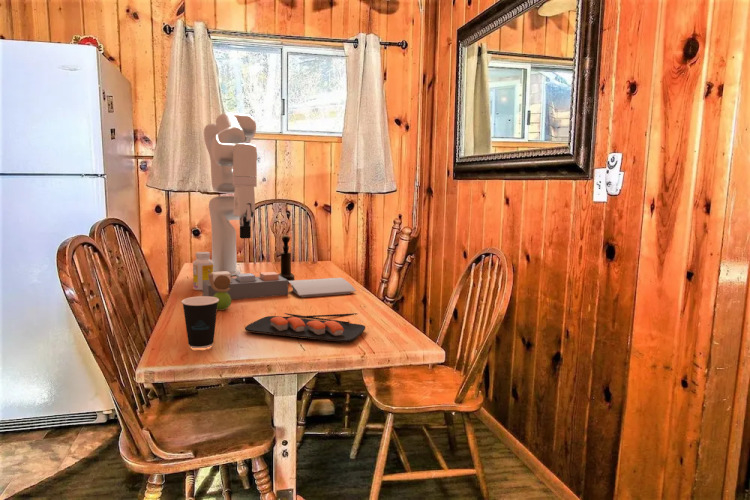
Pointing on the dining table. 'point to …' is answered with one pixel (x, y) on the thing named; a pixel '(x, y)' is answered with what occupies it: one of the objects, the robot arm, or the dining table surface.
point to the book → (321, 287)
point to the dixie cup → (200, 320)
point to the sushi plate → (308, 327)
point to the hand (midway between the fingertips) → (245, 238)
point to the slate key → (245, 277)
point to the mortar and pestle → (286, 260)
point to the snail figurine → (221, 290)
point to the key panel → (251, 288)
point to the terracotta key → (269, 276)
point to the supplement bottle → (201, 269)
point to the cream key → (216, 274)
